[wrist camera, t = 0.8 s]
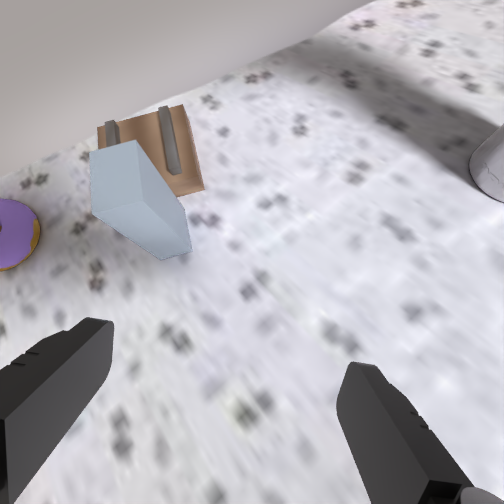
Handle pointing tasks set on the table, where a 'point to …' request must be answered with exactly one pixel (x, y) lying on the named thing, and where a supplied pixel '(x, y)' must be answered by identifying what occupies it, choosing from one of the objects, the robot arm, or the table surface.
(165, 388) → the table surface
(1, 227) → the donut
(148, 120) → the display stand
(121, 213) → the light blue rectangular block
